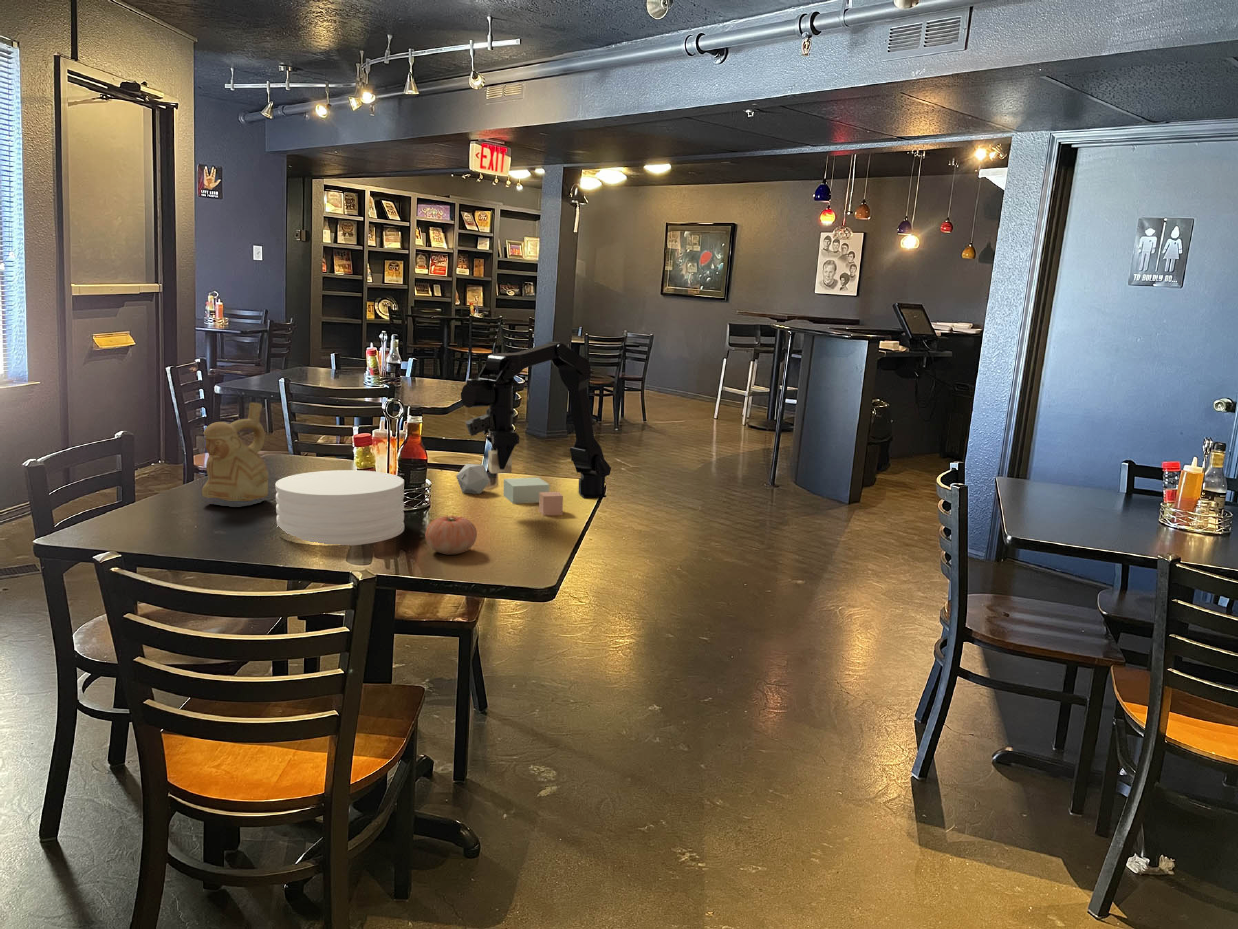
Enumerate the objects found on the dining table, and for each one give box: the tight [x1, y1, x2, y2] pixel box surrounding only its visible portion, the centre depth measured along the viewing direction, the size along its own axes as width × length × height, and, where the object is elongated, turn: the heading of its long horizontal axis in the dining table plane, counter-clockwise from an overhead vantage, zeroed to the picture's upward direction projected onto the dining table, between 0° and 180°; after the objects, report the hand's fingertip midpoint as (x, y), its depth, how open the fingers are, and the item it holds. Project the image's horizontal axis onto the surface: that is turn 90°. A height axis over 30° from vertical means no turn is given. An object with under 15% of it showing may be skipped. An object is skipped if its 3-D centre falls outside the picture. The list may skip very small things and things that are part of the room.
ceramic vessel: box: [201, 402, 269, 501], centre depth 230 cm, size 17×20×25 cm
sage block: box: [503, 477, 550, 505], centre depth 249 cm, size 10×10×5 cm
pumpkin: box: [424, 515, 478, 556], centre depth 195 cm, size 11×11×8 cm
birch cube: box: [487, 449, 513, 474], centre depth 229 cm, size 5×5×5 cm
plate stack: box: [274, 469, 405, 546], centre depth 210 cm, size 28×28×12 cm
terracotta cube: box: [538, 491, 564, 516], centre depth 234 cm, size 5×5×5 cm
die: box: [455, 463, 491, 495], centre depth 254 cm, size 8×9×10 cm
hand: (499, 467), depth 229 cm, fingers closed on birch cube, 5 cm apart
